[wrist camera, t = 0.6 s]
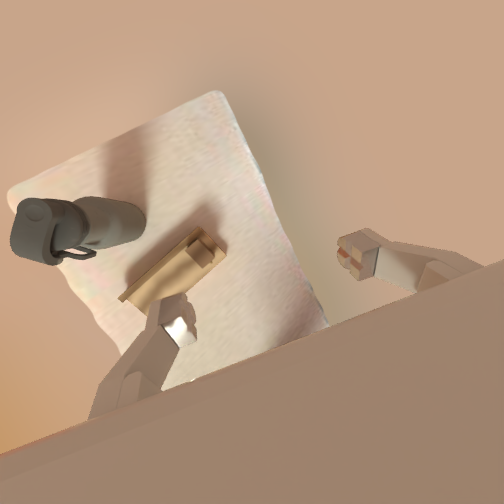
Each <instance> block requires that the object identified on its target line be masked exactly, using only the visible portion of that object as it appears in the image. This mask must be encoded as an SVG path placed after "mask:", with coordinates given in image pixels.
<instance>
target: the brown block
mask: <svg viewBox="0 0 504 504" xmlns="http://www.w3.org/2000/svg"><path fill="white" fill-rule="evenodd" d="M185 252H186V253H187V254H188V255H189V256H190V257H191V258H192V259H193V260H194V261H195V262H196V263H197V264H198V265H199V266H200V267H201V268H202V269H203V268H204V267H205V266H206V265H207V264H209V263H211V264H212V263H213V262H212V260H213V259H214V258H215V254H214V253H213V252H212V251H211V250H210V249H209V248H208V247H207V246H206V245H205V244H204V243H203V241H202V240H201V239H200V238H198V239H197V240H196V241H194V242H193V243H192V244H191V245H190V246H189V247H188V248H187V249H186V250H185Z"/></svg>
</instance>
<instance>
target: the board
mask: <svg viewBox="0 0 504 504" xmlns="http://www.w3.org/2000/svg"><path fill="white" fill-rule="evenodd" d="M198 238H200V239H201V240H202V241H203V243H204V244H205V245H206V246H207V247H208V248H209V249H210V250H211V251H212V252H213V253H214V254H215V258H214V259H213V260H212V262H213V263H212V264H211V263H209V264H207V265H206V266H205V267H204V268H203V269H202V268H201V267H200V266H199V265H198V264H197V263H196V262H195V261H194V260H193V259H192V258H191V257H190V256H189V255H188V254H187V253H186V252H185V250H186V249H187V248H188V247H189V246H190V245H191V244H192V243H193V242H194V241H196V240H197V239H198ZM225 257H226V254H225V253H224V252H223V251H222V250H221V249H220V248H219V247H218V246H217V244H216V243H215V242H214V241H213V240H212V239H211V238H210V237H209V236H208V235H207V234H206V233H205V232H204V230H203V229H202V228H200V227H197V228H196V229H195V230H194V231H193V232H192V233H191V234H190V235H188V236H187V237H186V238H185V239H184V240H183V241H182V242H180V243H179V244H178V245H177V246H176V247H175V248H174V249H173V250H171V251H170V252H169V253H168V254H167V255H166V256H165V257H163V258H162V259H161V260H160V261H159V262H158V263H157V264H156V265H154V266H153V267H152V268H151V269H150V270H149V271H148V272H146V273H145V274H144V275H143V276H142V277H141V278H140V279H139V280H137V281H136V282H135V283H134V284H133V285H132V286H131V287H129V288H128V289H127V290H126V291H125V292H124V293H123V294H122V295H120V296H119V297H118V299H119V300H120V301H121V302H122V303H123V302H124V301H125V300H126V299H127V300H128V301H130V302H131V303H132V304H133V305H134V306H135V307H137V308H138V309H139V310H140V311H141V312H142V313H144V314H145V315H146V316H147V317H148V312H149V307H150V304H151V302H153V301H156V300H159V299H162V298H165V297H168V296H171V295H174V294H177V293H180V292H184V293H186V292H187V291H188V290H189V289H191V288H192V287H193V286H194V285H195V284H196V283H197V282H198V281H199V280H201V279H202V278H203V277H204V276H205V275H206V274H207V273H208V272H210V271H211V270H212V269H213V268H214V267H215V266H216V265H217V264H218V263H220V262H221V261H222V260H223V259H224V258H225Z"/></svg>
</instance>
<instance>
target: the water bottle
mask: <svg viewBox="0 0 504 504" xmlns="http://www.w3.org/2000/svg"><path fill="white" fill-rule="evenodd" d="M145 226H146V221H145V217H144V215H143V213H142V212H141V211H140V210H139V208H137V207H136V206H135V205H133V204H130V203H127V202H122V201H117V200H111V199H106V198H101V197H93V196H90V197H83V198H79V199H77V200H75V201H74V202H70V201H66V200H57V199H39V198H27V199H24V200H22V201H21V202H20V203H19V204H18V207H17V214H16V217H15V221H14V224H13V227H12V231H11V236H10V246H11V248H12V251H13V252H14V253H15V254H16V255H18V256H19V257H23V258H27V259H30V260H33V261H37V262H40V263H44V264H47V265H52V266H53V265H58V264H60V263H62V261H63V258H65V257H70V258H73V259H78V260H85V259H89V258H92V257H95V256H96V253H97V252H96V251H94V250H91V249H97V250H98V249H106V248H109V247H113V246H116V245H120V244H124V243H127V242H131V241H134V240H136V239H138V238H139V237H140V236H141V235H142V234H143V232H144V230H145ZM81 246H82V247H81ZM70 248H73V249H77V250H80V251H83V252H86V253H87V254H83V255H81V254H74V253H70V252H67V251H64V250H66V249H70ZM88 248H89V249H88Z"/></svg>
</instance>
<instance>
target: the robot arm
mask: <svg viewBox="0 0 504 504" xmlns="http://www.w3.org/2000/svg"><path fill="white" fill-rule="evenodd" d="M338 245H339V246H340V248H339V250H338V251H337V257H338V260H339V262H340V264H341V265H342V266H343V267H344V268H347V269H350V274H351V275H352V276H353V277H354V278H355V279H357V280H358V281H361V280H364V279H367V278H370V277H373V276H374V277H376V278H378V279H381V280H383V281H386V282H388V283H391V284H393V285H396V286H398V287H401V288H403V289H406V290H408V291H411V292H413V293H415V294H413V295H410V296H408V297H405V298H403V299H400V300H398V301H395V302H392V303H390V304H387V305H385V306H382V307H380V308H377V309H374V310H372V311H369V312H367V313H364V314H362V315H359V316H356V317H354V318H352V319H349V320H346V321H344V322H341V323H338V324H336V325H334V326H331V327H328V328H325V329H323V330H320V331H318V332H315V333H312V334H310V335H307V336H305V337H302V338H300V339H297V340H294V341H292V342H289V343H287V344H284V345H282V346H279V347H276V348H274V349H271V350H269V351H266V352H263V353H261V354H258V355H256V356H253V357H250V358H248V359H245V360H243V361H240V362H238V363H235V364H232V365H230V366H227V367H225V368H222V369H219V370H217V371H214V372H212V373H209V374H206V375H204V376H201V377H199V378H196V379H194V380H191V381H188V382H186V383H183V384H181V385H178V386H176V387H173V388H170V389H168V390H165V391H162V390H161V387H162V385H163V383H164V381H165V379H166V376H167V374H168V372H169V370H170V368H171V366H172V364H173V362H174V360H175V358H176V356H177V354H178V352H179V348H181V347H184V346H186V345H189V344H191V343H194V342H196V341H197V329H196V327H195V326H194V324H195V322H196V315H195V311H194V308H193V306H192V304H191V303H189V302H187V296H186V294H185V293H184V292H180V293H177V294H174V295H171V296H168V297H165V298H162V299H159V300H156V301H153V302H151V304H150V307H149V312H148V317H147V322H146V327H145V331H142V332H141V333H140V334H139V336H138V337H137V338H136V339H135V341H134V342H133V343H132V344H131V346H130V347H129V348H128V349H127V351H126V352H125V353H124V354H123V356H122V357H121V358H120V359H119V361H118V362H117V363H116V364H115V366H114V367H113V368H112V369H111V370H110V372H109V373H108V374H107V375H106V377H105V378H104V379H103V381H102V382H101V383H100V384H99V387H98V390H97V393H96V396H95V399H94V402H93V405H92V409H91V411H90V414H89V417H88V420H87V421H85V422H83V423H80V424H78V425H75V426H73V427H70V428H67V429H65V430H62V431H60V432H57V433H55V434H52V435H49V436H46V437H44V438H41V439H39V440H36V441H34V442H31V443H29V444H26V445H23V446H21V447H18V448H16V449H13V450H10V451H8V452H5V453H2V454H0V504H504V259H503V260H501V261H498V262H496V263H493V264H491V265H488V266H485V267H484V266H482V265H480V264H478V263H476V262H474V261H472V260H470V259H468V258H466V257H464V256H462V255H460V254H458V253H456V252H452V251H446V250H441V249H435V248H429V247H424V246H418V245H412V244H406V243H400V242H390V241H388V240H387V239H385V238H384V237H382V236H380V235H379V234H377V233H375V232H374V231H372V230H370V229H368V228H364V229H362V230H359V231H357V232H354V233H351V234H349V235H346V236H343V237H340V238H339V239H338Z"/></svg>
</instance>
